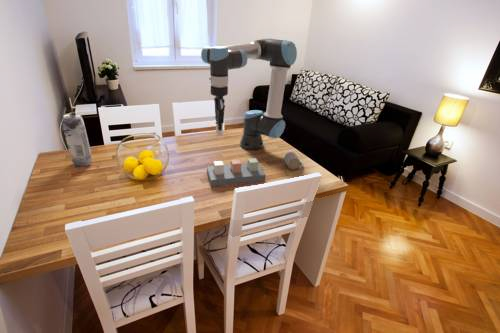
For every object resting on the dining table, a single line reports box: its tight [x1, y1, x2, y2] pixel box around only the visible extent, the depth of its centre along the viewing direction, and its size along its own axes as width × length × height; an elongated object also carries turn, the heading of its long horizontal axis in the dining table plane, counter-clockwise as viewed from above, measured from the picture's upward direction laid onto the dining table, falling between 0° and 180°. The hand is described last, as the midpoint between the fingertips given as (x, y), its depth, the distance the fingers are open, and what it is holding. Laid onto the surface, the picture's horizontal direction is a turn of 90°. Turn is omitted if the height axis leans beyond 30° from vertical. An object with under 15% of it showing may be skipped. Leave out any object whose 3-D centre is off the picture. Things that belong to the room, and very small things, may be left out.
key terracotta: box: [230, 159, 242, 174], centre depth 143 cm, size 4×4×7 cm
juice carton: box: [61, 113, 92, 168], centre depth 143 cm, size 9×10×27 cm
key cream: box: [213, 160, 225, 175], centre depth 141 cm, size 4×4×7 cm
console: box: [206, 162, 266, 188], centre depth 145 cm, size 14×28×4 cm, turn 106°
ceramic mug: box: [283, 151, 304, 170], centre depth 158 cm, size 11×8×8 cm
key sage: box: [247, 157, 259, 172], centre depth 145 cm, size 4×4×7 cm
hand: (219, 135), depth 132 cm, fingers closed
